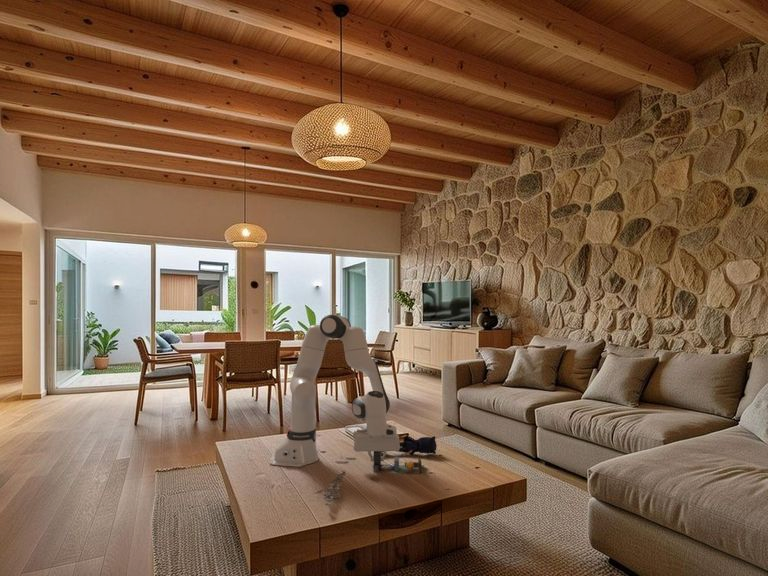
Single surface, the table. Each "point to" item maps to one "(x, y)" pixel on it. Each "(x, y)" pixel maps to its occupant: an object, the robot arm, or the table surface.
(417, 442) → the toy
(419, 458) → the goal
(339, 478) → the carved scroll ornament
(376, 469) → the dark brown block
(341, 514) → the table surface
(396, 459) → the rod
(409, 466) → the ball
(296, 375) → the robot arm
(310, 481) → the table surface
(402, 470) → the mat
